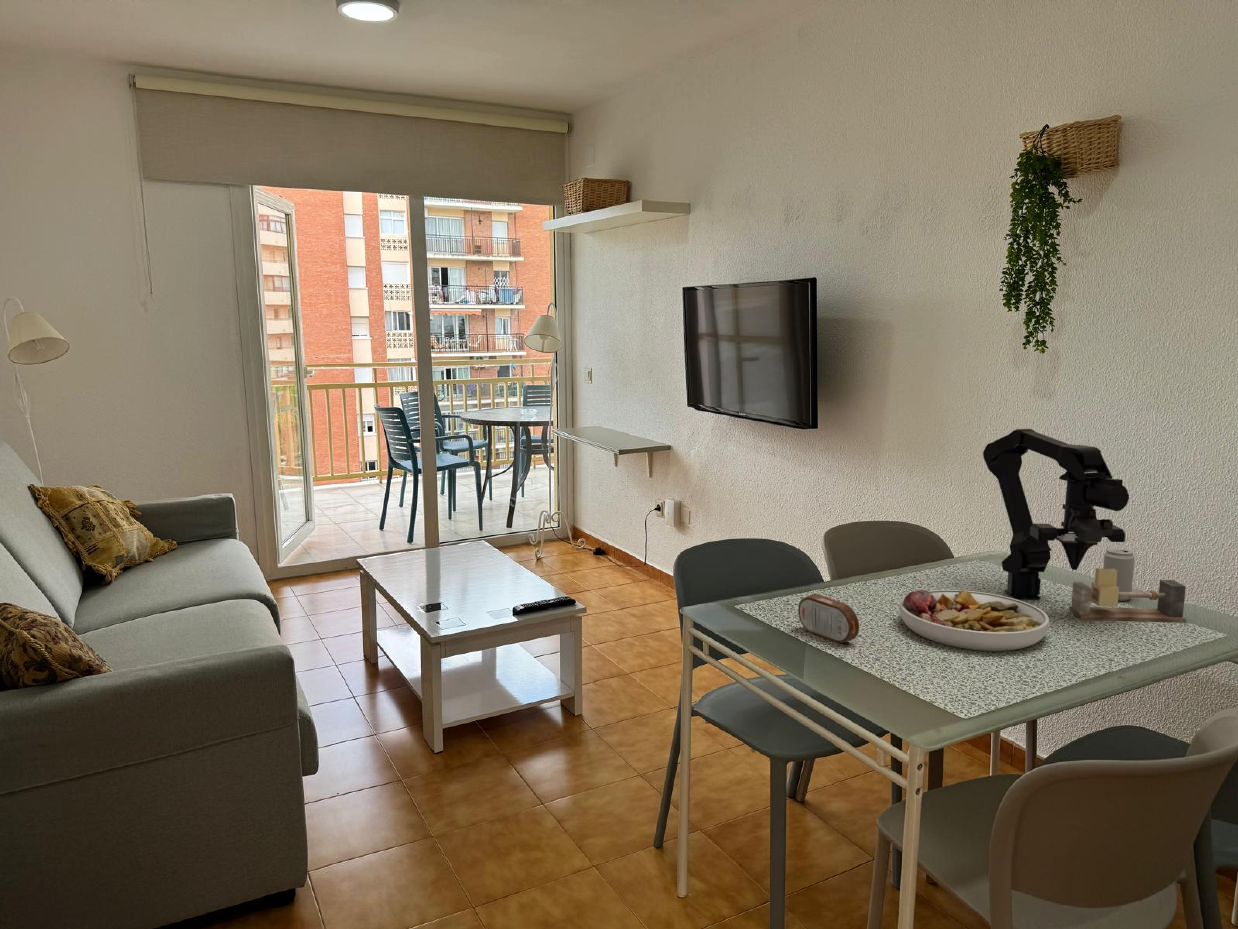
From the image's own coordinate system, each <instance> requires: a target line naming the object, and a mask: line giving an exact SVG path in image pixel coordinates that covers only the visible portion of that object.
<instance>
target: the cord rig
mask: <svg viewBox="0 0 1238 929" xmlns="http://www.w3.org/2000/svg"><path fill="white" fill-rule="evenodd" d="M1186 589H1187V587H1186V585H1184V584H1182V583H1180V582H1178V581H1176V580H1174V579H1159V585H1158V592H1157V591H1156V590H1149V591H1148V592H1140V591H1139V592H1138V591H1137V592H1135V591H1134V592H1133V591H1132V592H1119V594H1118V597H1129V598H1130V599H1131V598H1133V599H1134V598H1137V599H1138V598H1141V599H1149V600H1150V601H1156V600H1157V608H1139V607H1138V608H1136V607H1107V606H1097V607H1096V606H1094V607H1093V606H1091V602H1092V601H1091V597H1098V591H1092V588H1091V587H1090V586H1089V585H1087V584H1086V583H1084V582H1082V581H1073V582H1072V591H1071V592H1072V593H1071V594H1072V595H1071V606H1069V607H1068V609H1069V611H1070V612H1071V613H1072V614H1074V615H1075V616H1077V618H1080V619H1081V620H1082V621H1083V620H1086V621H1087V620H1089V621H1090V620H1091V621H1117V622H1120V621H1121V622H1123V621H1125V622H1129V621H1130V622H1158V623H1159V622H1161V623H1162V622H1164V623H1185V622H1186V618H1184V608H1185V596H1186Z"/></svg>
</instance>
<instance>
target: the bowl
mask: <svg viewBox="0 0 1238 929" xmlns="http://www.w3.org/2000/svg"><path fill="white" fill-rule="evenodd" d="M899 613H900V617H901V619H902V621H903V622H904V624H905V625H906V626H907V627H908V628H909V629H910V630H911V631H913V632H914V633H915V634H916V635H919V636H921V637H922V638H925V639H927V640H930V641H933V642H935V643H938V644H940V645H945V646H949V647H954V648H959V649H964V650H965V649H966V650H972V651H973V650H974V651H985V652H1005V651H1006V652H1007V651H1013V650H1014V651H1016V650H1019V649H1024V648H1027V647H1030V646H1033V645H1035V644H1036V643H1038V642H1040V641H1042V639H1043V638H1045V635H1046V634H1047V632H1048V630H1049V624H1050V618H1049V616H1048V614H1047V613H1046V612H1045V611H1044V610H1042V609H1041V608H1038V607H1037V606H1035V605H1033V604H1030V603H1028V602H1026V601H1023V600H1021V599H1014V598H1012V597H1010V596H1009V597H1008V596H1005V595H1001V594H995V593H989V592H983V591H974V590H973V591H972V590H965V589H935V590H934V589H932V590H926V589H918V590H916V591H910V592H909V593H907V594H906V595H905V596H904V597H903V598H902V599H901V600H900V602H899Z"/></svg>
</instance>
